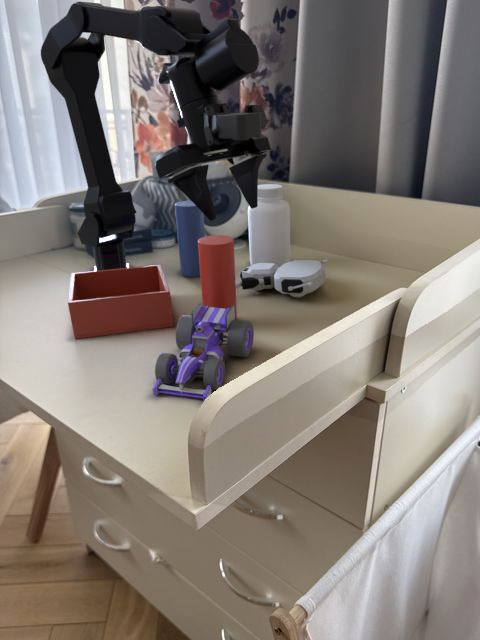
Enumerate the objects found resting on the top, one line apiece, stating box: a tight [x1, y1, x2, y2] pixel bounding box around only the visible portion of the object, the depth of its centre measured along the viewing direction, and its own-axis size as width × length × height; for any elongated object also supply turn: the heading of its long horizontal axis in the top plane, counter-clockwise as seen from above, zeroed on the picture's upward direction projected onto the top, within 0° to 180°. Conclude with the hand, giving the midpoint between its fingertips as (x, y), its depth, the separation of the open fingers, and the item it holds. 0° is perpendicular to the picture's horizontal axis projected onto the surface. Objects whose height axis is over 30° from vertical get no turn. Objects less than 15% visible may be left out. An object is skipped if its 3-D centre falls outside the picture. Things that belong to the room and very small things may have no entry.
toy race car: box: [152, 300, 255, 402], centre depth 68 cm, size 10×15×6 cm, turn 165°
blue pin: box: [174, 200, 206, 278], centre depth 100 cm, size 5×5×13 cm
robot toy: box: [235, 259, 329, 299], centre depth 93 cm, size 12×4×15 cm
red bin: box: [67, 264, 174, 340], centre depth 84 cm, size 13×14×6 cm
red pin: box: [198, 234, 238, 320], centre depth 79 cm, size 5×5×13 cm
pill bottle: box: [247, 183, 291, 267], centre depth 103 cm, size 8×8×15 cm
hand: (234, 213), depth 80 cm, fingers open, 9 cm apart
